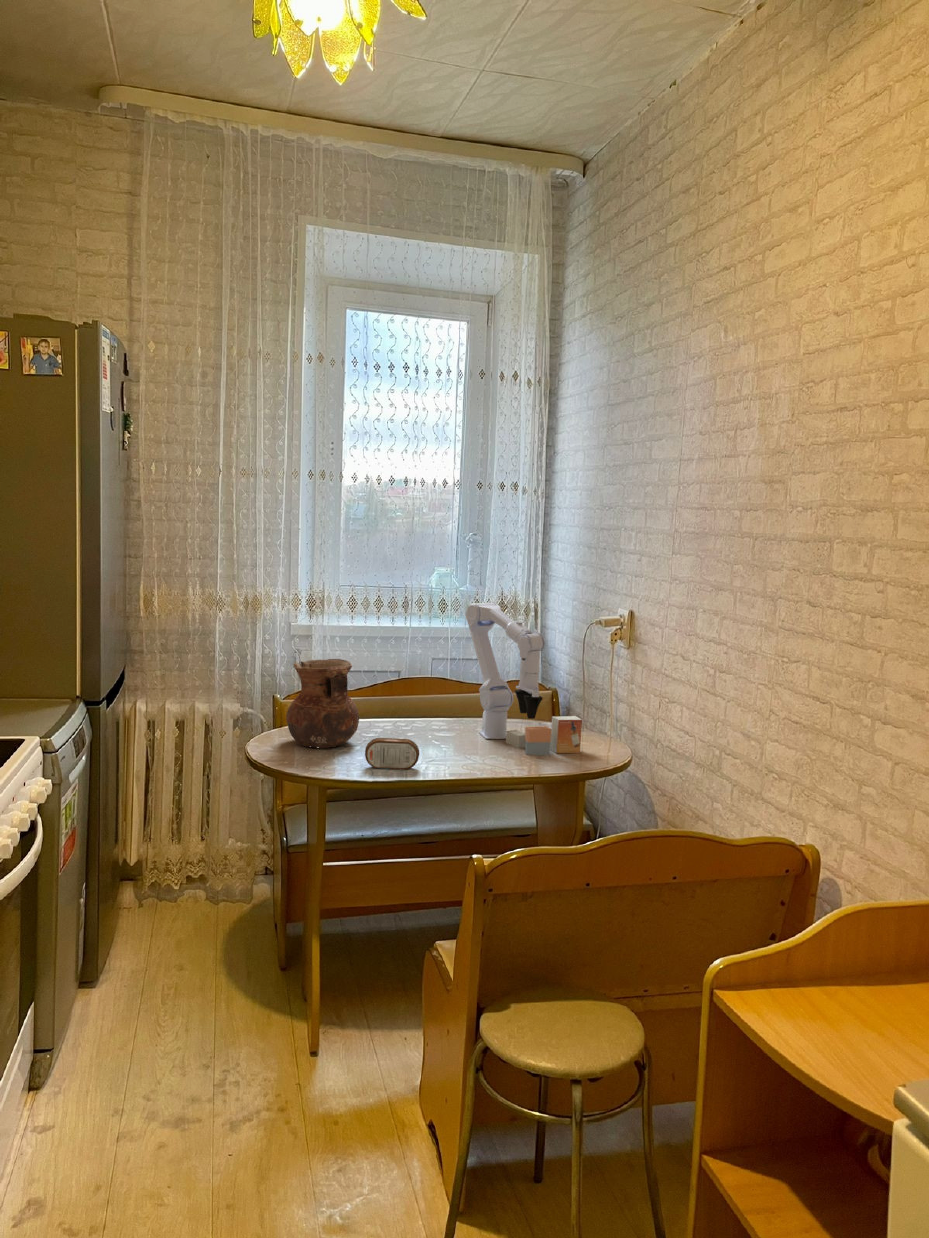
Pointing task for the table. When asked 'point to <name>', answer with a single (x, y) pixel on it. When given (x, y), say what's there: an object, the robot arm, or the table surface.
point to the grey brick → (515, 738)
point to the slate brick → (537, 748)
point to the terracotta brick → (538, 734)
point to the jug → (323, 705)
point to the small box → (566, 734)
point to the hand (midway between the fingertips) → (527, 715)
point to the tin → (392, 753)
